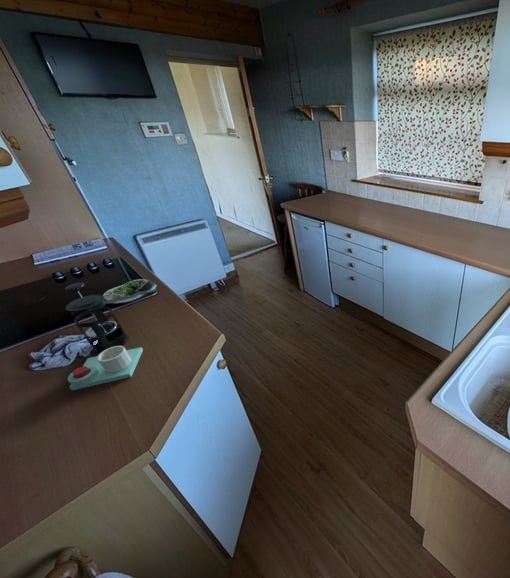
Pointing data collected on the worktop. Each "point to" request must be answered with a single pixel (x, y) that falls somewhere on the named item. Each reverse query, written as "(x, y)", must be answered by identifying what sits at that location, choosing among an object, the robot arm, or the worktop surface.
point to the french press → (101, 326)
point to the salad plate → (130, 291)
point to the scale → (104, 372)
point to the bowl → (114, 359)
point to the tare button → (81, 372)
